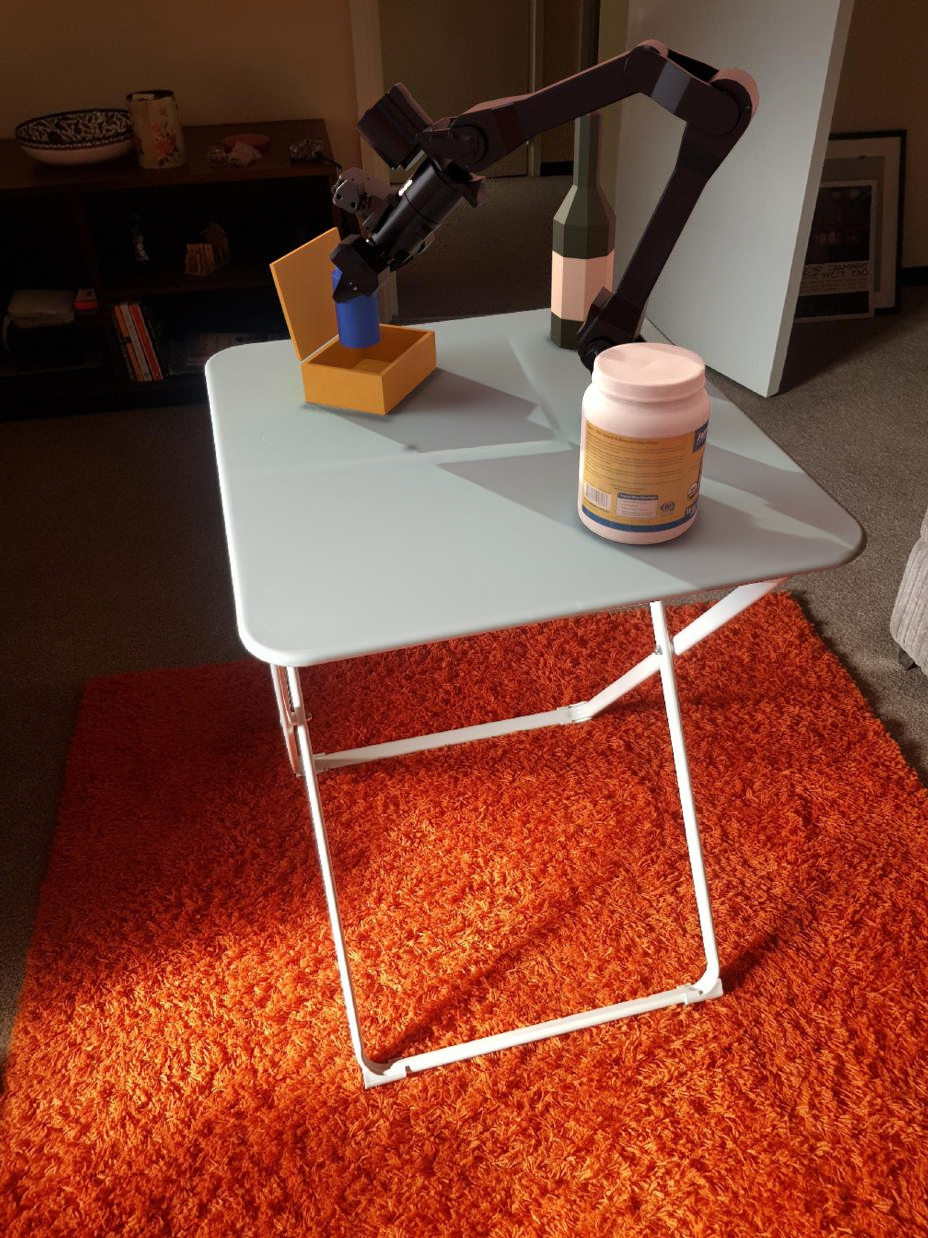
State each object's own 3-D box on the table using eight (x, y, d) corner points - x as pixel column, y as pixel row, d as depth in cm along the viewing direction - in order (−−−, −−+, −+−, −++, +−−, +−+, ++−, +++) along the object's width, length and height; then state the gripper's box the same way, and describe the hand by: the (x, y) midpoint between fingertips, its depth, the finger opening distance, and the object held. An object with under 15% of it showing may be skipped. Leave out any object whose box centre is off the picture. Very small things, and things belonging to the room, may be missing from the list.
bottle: (377, 330, 124) (368, 234, 117) (383, 345, 120) (375, 247, 113) (337, 334, 124) (325, 239, 116) (342, 350, 120) (330, 252, 112)
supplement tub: (712, 543, 97) (736, 383, 87) (592, 555, 96) (602, 396, 86) (674, 482, 107) (691, 332, 96) (565, 493, 105) (570, 343, 95)
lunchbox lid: (337, 226, 126) (313, 229, 127) (273, 263, 114) (247, 266, 116) (360, 317, 132) (336, 319, 134) (301, 361, 121) (276, 362, 123)
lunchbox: (437, 371, 132) (434, 330, 129) (385, 419, 121) (381, 376, 118) (362, 360, 136) (358, 320, 132) (306, 406, 125) (300, 363, 121)
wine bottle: (611, 349, 136) (627, 111, 118) (552, 350, 136) (558, 113, 118) (605, 327, 143) (619, 98, 124) (548, 328, 143) (553, 100, 125)
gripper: (403, 126, 114) (329, 219, 124) (336, 165, 100) (258, 266, 110) (469, 201, 117) (392, 286, 126) (412, 248, 103) (330, 339, 113)
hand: (345, 292), depth 119 cm, fingers closed on bottle, 5 cm apart
